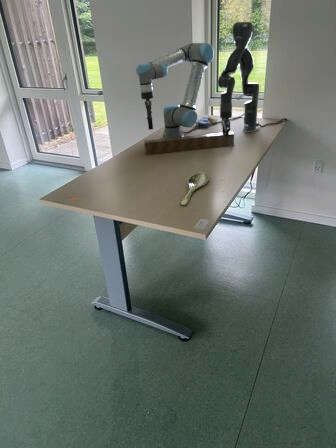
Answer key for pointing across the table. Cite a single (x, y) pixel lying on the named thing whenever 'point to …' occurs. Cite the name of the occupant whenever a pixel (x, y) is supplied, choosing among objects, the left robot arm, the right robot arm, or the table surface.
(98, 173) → the table surface
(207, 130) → the table surface
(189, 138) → the block
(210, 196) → the table surface
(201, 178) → the spoon
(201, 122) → the spray gun
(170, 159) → the table surface
